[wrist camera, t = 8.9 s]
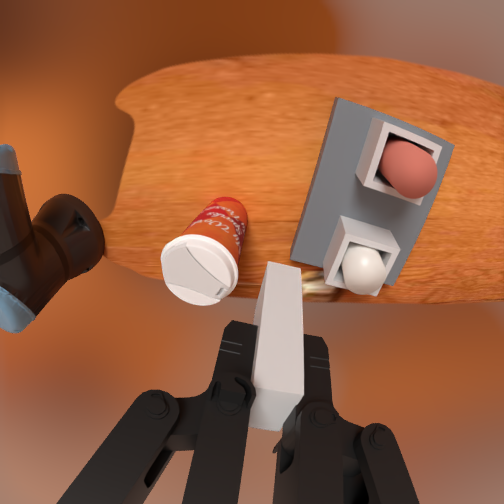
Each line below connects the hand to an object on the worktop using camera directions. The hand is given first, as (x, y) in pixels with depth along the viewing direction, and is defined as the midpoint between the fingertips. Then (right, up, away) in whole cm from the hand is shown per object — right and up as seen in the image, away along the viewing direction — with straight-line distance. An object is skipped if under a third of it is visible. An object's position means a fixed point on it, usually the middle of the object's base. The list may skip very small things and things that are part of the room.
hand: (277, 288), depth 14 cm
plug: (+13, +2, +24) cm, 28 cm away
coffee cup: (-5, +7, +29) cm, 30 cm away
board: (+14, +9, +24) cm, 29 cm away
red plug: (+15, +13, +17) cm, 26 cm away
